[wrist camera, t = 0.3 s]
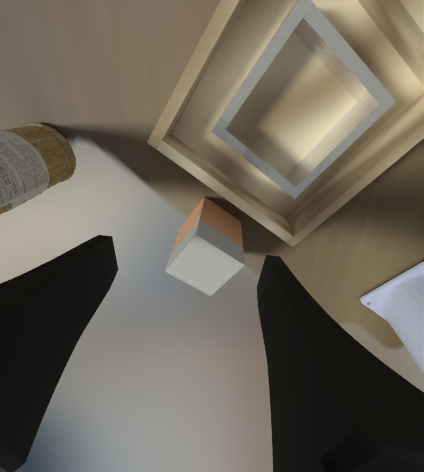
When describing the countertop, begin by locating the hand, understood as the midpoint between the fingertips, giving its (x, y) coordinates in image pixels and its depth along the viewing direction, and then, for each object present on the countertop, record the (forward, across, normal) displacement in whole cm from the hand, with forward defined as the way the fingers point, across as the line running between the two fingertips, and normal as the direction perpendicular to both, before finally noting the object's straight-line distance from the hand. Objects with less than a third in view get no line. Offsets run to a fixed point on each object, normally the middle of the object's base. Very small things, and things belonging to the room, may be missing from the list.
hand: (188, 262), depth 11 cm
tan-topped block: (+10, -1, +4) cm, 10 cm away
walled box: (+10, -5, -6) cm, 12 cm away
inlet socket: (+10, -5, -6) cm, 12 cm away
